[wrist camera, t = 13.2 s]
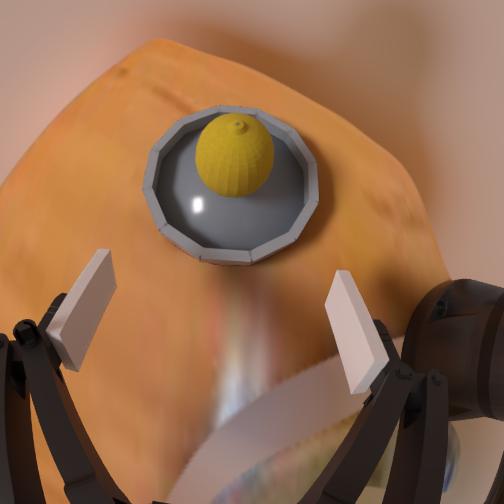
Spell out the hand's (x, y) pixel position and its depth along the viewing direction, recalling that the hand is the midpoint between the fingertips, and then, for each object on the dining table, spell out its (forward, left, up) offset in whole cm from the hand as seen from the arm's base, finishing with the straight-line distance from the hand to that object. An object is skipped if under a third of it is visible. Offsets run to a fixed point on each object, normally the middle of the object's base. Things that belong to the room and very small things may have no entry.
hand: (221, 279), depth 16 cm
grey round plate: (0, -9, -7) cm, 11 cm away
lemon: (0, -9, -6) cm, 11 cm away
